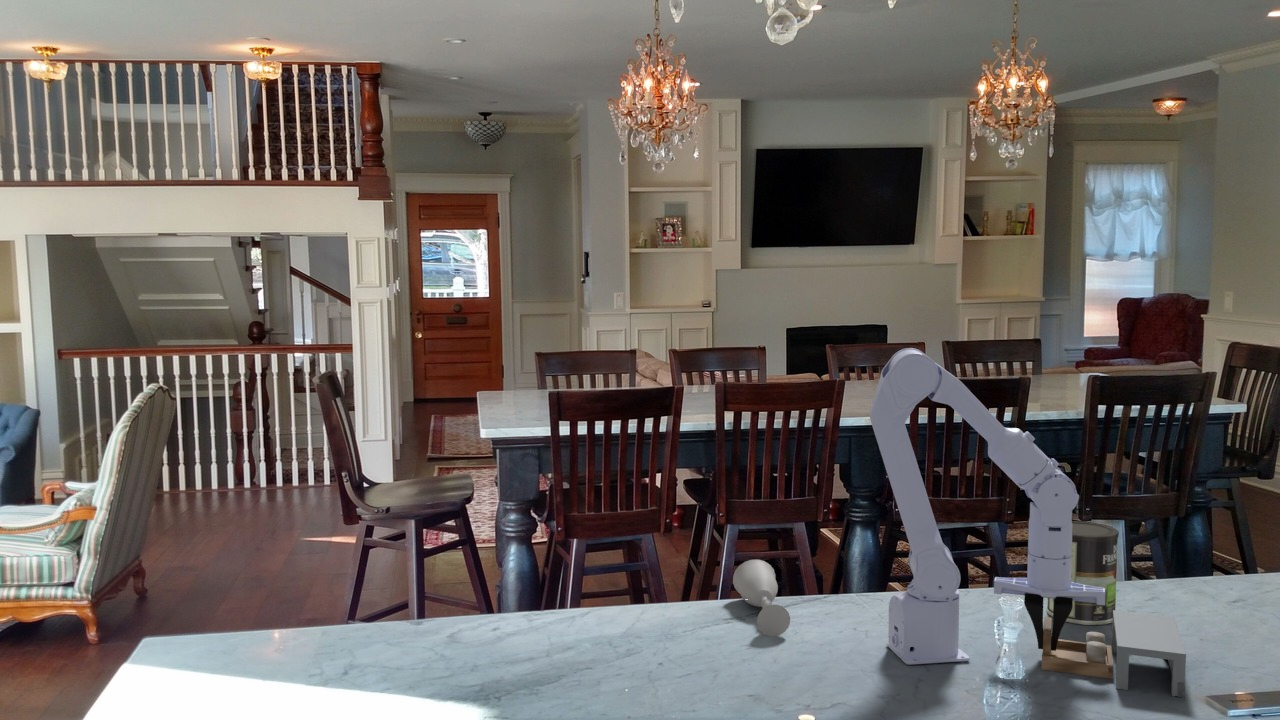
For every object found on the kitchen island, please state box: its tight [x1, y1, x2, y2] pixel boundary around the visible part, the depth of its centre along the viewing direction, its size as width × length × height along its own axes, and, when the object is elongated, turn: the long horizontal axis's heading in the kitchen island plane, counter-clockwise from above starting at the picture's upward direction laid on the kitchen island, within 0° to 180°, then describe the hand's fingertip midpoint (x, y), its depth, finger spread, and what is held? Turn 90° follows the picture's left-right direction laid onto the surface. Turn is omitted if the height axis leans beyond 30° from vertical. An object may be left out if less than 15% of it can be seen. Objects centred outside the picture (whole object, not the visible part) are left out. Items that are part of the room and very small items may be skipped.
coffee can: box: [1046, 520, 1120, 626], centre depth 163 cm, size 10×10×14 cm
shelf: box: [1111, 609, 1187, 698], centre depth 140 cm, size 8×15×6 cm, turn 157°
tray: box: [1041, 616, 1114, 680], centre depth 144 cm, size 9×8×5 cm
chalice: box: [732, 559, 791, 637], centre depth 164 cm, size 7×7×18 cm
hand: (1047, 647), depth 145 cm, fingers closed on tray
